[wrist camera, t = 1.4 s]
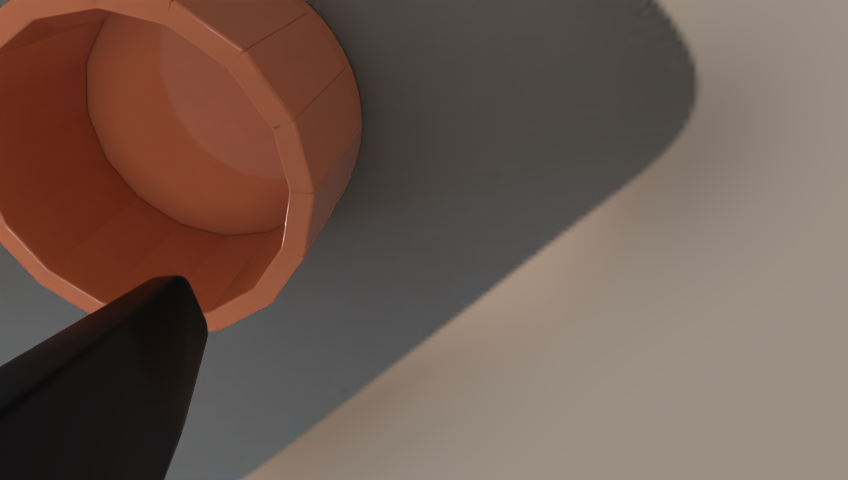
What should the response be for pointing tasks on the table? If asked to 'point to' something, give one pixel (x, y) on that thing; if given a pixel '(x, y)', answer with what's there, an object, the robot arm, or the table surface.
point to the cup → (171, 145)
